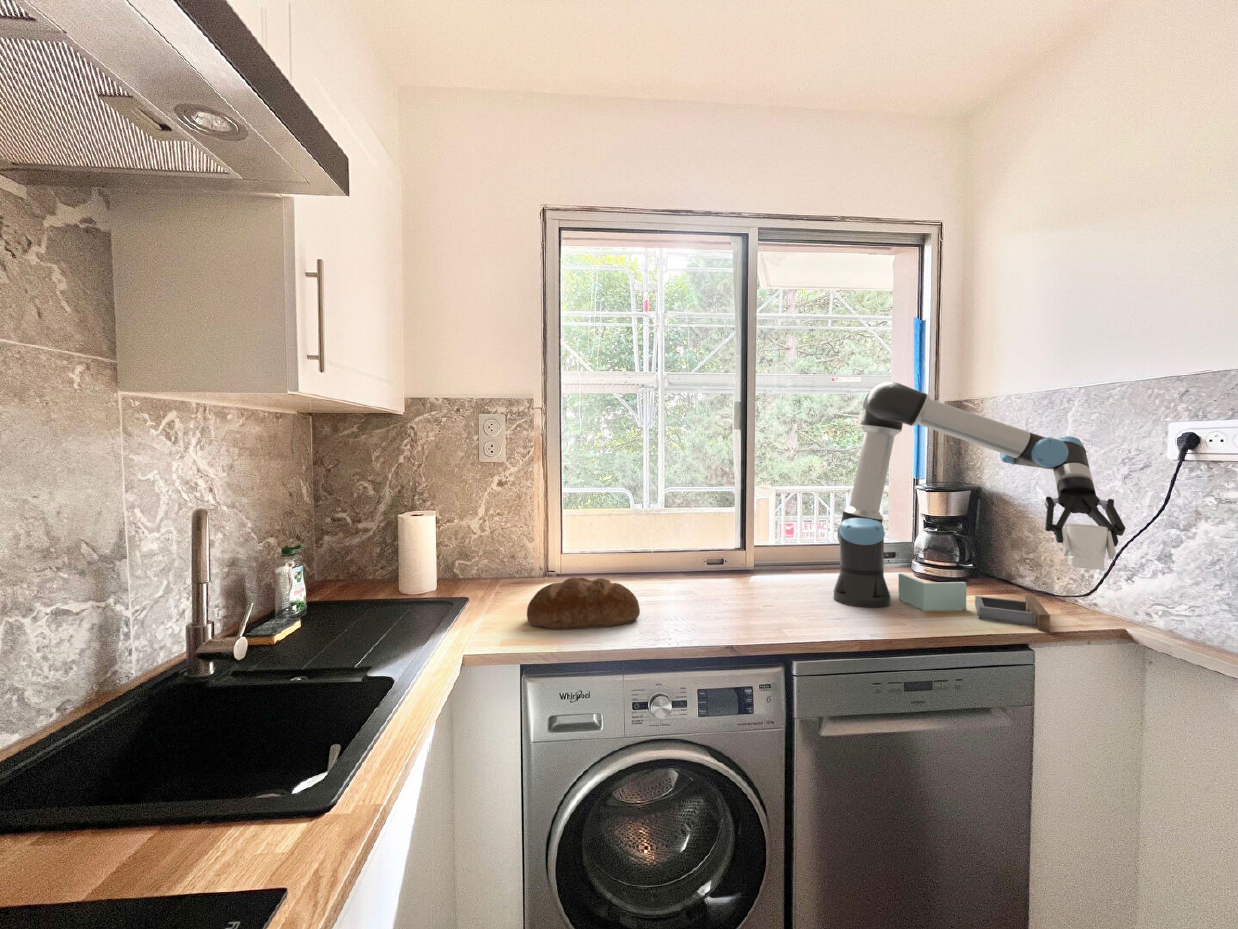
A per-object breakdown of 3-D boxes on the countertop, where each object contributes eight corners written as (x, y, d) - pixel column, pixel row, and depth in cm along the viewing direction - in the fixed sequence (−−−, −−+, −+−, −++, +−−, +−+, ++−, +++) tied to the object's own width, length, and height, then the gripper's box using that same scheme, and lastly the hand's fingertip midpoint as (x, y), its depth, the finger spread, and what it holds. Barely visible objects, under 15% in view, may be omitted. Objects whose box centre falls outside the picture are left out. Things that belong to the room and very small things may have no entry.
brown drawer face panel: (1039, 630, 127) (1039, 614, 127) (1025, 609, 145) (1025, 594, 145) (1049, 632, 126) (1049, 615, 126) (1034, 610, 144) (1034, 595, 144)
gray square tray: (979, 619, 136) (979, 607, 136) (975, 606, 147) (975, 595, 147) (1036, 626, 131) (1036, 613, 131) (1027, 612, 141) (1027, 601, 141)
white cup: (1115, 570, 126) (1116, 529, 126) (1077, 569, 127) (1078, 528, 127) (1093, 563, 134) (1093, 524, 133) (1057, 562, 135) (1058, 523, 135)
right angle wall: (966, 610, 144) (966, 582, 144) (923, 610, 144) (923, 583, 144) (937, 597, 156) (937, 572, 156) (898, 598, 156) (898, 573, 156)
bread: (527, 615, 143) (527, 573, 142) (633, 609, 147) (633, 569, 147) (526, 635, 127) (525, 588, 127) (645, 628, 132) (644, 582, 132)
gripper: (1122, 495, 138) (1143, 567, 125) (1024, 491, 149) (1033, 558, 135) (1129, 475, 133) (1152, 549, 120) (1028, 473, 144) (1037, 541, 130)
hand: (1089, 554), depth 128 cm, fingers closed on white cup, 8 cm apart
